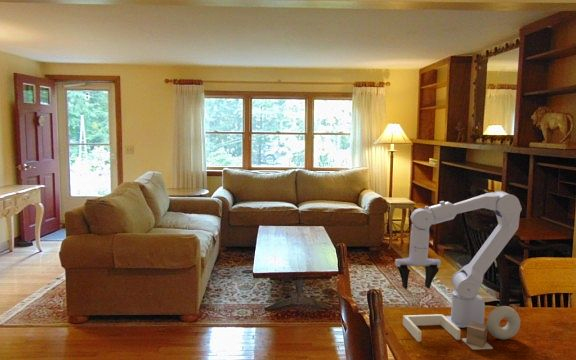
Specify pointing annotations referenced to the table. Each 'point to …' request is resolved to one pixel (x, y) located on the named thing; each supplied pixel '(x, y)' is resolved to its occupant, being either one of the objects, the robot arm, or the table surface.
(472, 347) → the mat
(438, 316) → the cream u-shaped arch
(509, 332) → the donut
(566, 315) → the table surface
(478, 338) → the block
